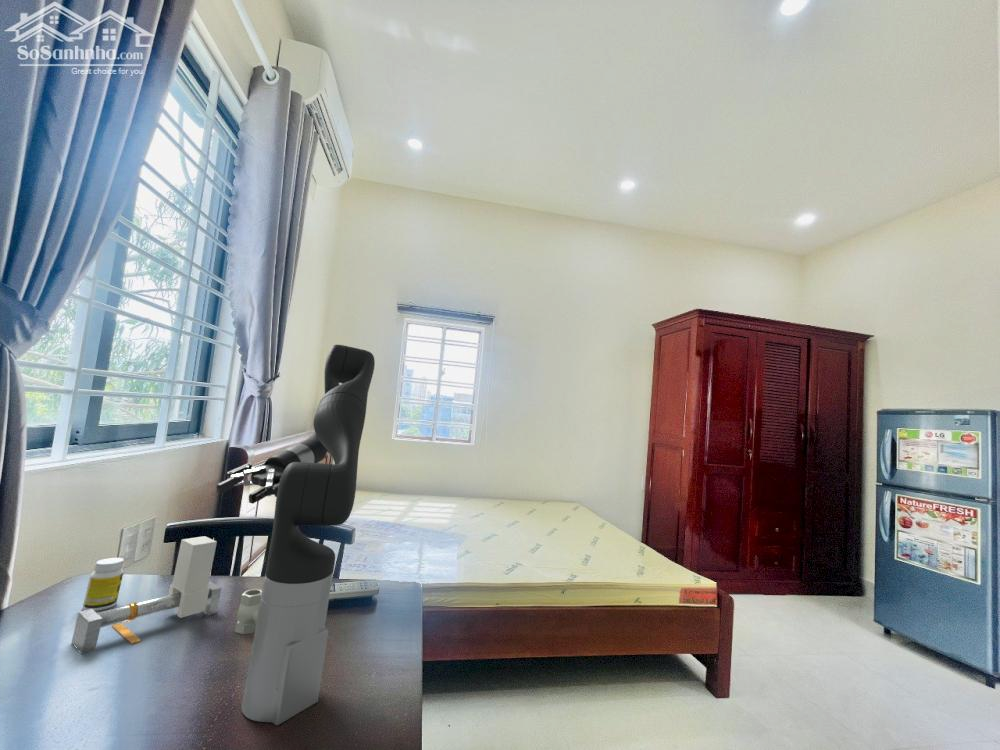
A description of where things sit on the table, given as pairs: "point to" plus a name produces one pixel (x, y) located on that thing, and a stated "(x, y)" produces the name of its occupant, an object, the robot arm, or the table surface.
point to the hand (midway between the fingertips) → (234, 494)
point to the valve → (248, 611)
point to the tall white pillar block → (193, 574)
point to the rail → (129, 617)
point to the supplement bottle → (104, 584)
